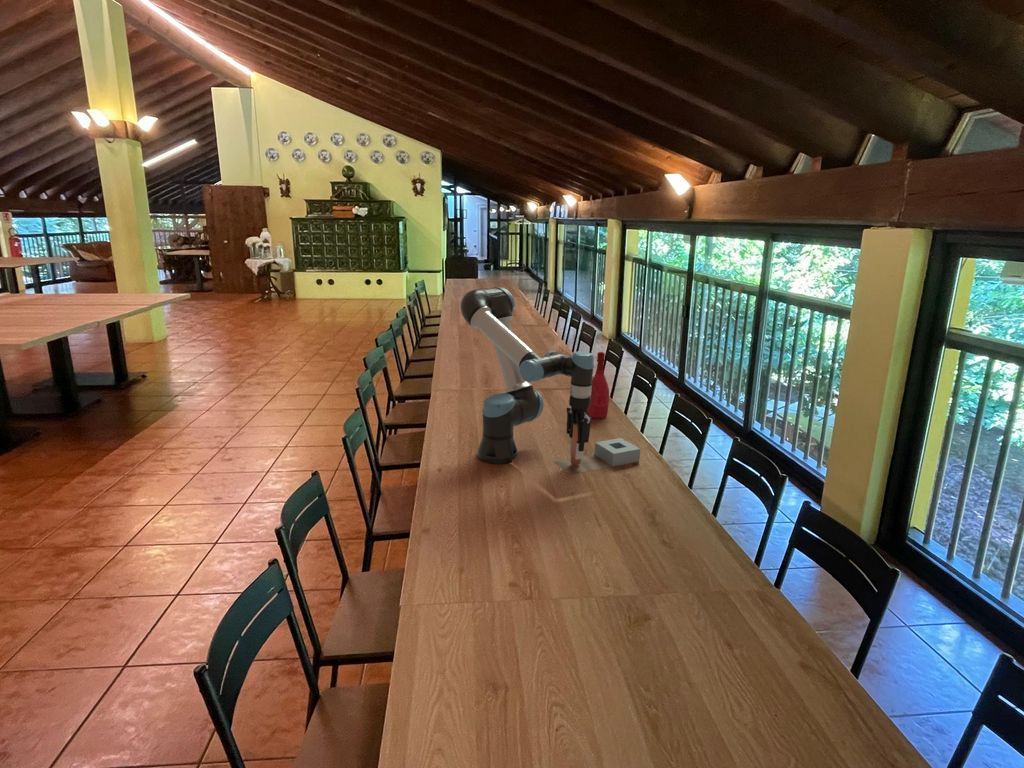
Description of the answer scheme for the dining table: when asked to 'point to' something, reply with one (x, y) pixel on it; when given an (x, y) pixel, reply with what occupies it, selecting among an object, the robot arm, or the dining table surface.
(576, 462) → the peg
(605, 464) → the board
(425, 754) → the dining table surface
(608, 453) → the socket
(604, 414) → the wine bottle
